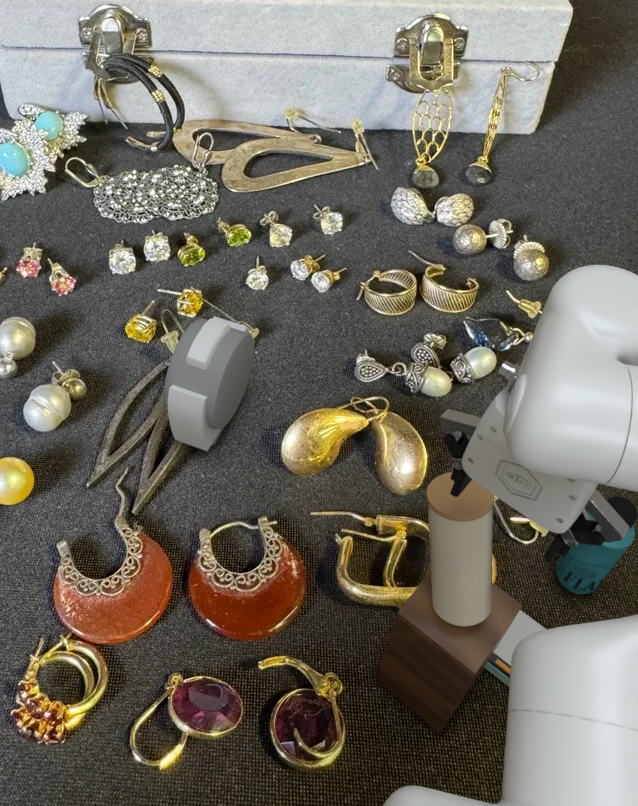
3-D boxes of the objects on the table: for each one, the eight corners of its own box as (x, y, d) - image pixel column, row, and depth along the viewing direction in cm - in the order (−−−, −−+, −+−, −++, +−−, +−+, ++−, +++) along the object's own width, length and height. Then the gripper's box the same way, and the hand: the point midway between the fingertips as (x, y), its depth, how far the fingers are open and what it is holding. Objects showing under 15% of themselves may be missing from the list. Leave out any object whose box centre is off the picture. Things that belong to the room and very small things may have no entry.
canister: (473, 637, 85) (472, 525, 77) (419, 608, 89) (413, 498, 81) (503, 597, 89) (506, 486, 81) (451, 571, 93) (448, 463, 85)
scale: (530, 704, 104) (536, 697, 102) (472, 658, 108) (476, 650, 105) (563, 652, 108) (569, 644, 106) (505, 610, 112) (510, 601, 110)
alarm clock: (213, 368, 140) (208, 287, 125) (258, 384, 138) (258, 303, 123) (165, 449, 129) (154, 371, 114) (213, 467, 127) (208, 389, 112)
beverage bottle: (548, 592, 114) (593, 524, 99) (552, 551, 118) (596, 479, 103) (596, 606, 112) (649, 540, 97) (598, 564, 117) (650, 494, 102)
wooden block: (439, 733, 101) (475, 674, 85) (375, 678, 106) (397, 612, 89) (481, 672, 106) (523, 605, 90) (418, 622, 111) (447, 549, 94)
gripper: (436, 375, 63) (405, 488, 76) (647, 509, 55) (573, 609, 68) (487, 322, 66) (449, 438, 79) (691, 441, 59) (613, 547, 72)
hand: (506, 517), depth 74 cm, fingers open, 9 cm apart
